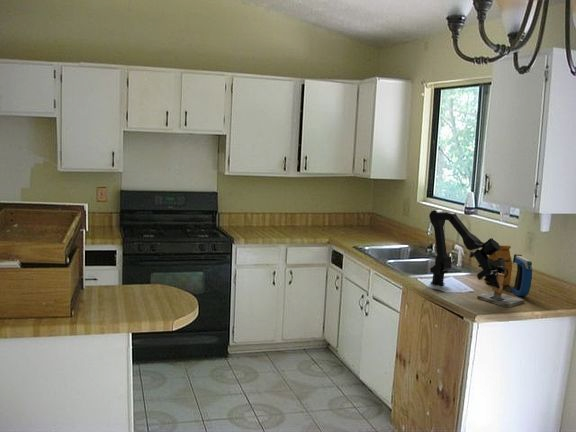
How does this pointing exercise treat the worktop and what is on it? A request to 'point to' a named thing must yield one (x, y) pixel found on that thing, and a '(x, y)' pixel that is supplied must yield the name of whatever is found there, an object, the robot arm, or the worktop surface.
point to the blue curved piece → (522, 276)
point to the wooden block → (499, 291)
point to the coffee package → (505, 254)
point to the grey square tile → (505, 299)
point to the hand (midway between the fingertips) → (501, 287)
